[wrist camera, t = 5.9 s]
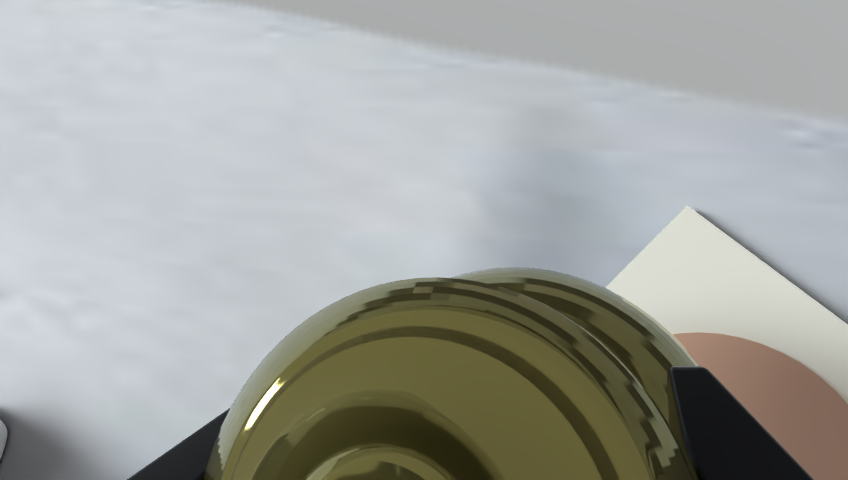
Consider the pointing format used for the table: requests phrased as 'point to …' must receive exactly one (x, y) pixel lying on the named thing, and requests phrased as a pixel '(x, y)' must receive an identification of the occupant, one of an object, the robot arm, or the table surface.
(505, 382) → the brass door knob
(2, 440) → the eye dropper bottle
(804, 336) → the card
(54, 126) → the table surface
